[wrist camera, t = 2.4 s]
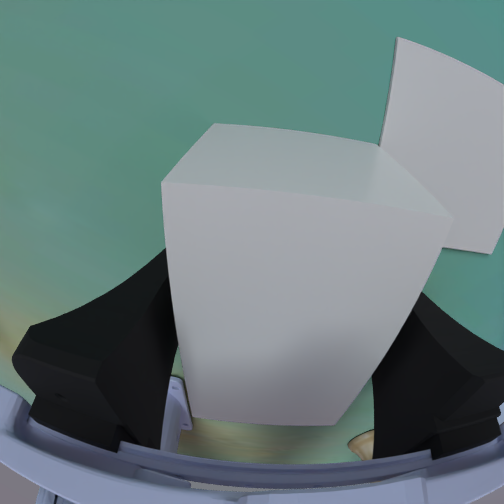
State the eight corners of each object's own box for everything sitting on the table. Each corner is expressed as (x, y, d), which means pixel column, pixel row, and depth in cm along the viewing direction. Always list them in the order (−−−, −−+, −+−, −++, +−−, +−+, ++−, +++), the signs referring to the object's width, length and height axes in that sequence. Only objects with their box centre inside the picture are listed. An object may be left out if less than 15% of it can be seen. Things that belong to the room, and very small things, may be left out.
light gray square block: (489, 252, 12) (491, 254, 12) (356, 233, 12) (357, 235, 12) (536, 107, 7) (539, 108, 7) (396, 37, 7) (398, 36, 7)
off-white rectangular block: (322, 327, 15) (334, 425, 11) (211, 318, 15) (192, 416, 11) (376, 144, 10) (454, 218, 5) (213, 123, 10) (160, 182, 5)
